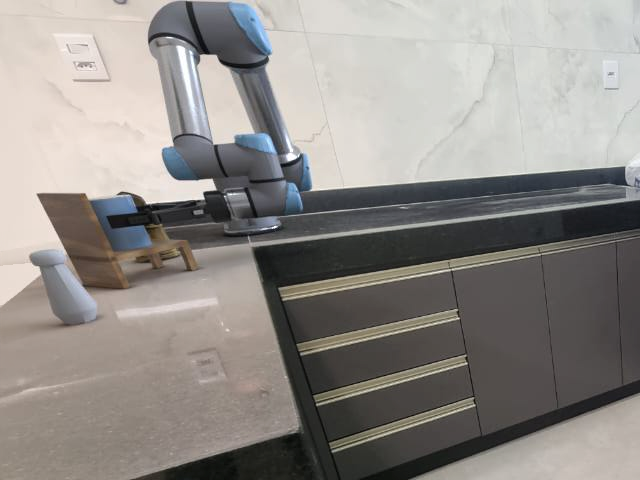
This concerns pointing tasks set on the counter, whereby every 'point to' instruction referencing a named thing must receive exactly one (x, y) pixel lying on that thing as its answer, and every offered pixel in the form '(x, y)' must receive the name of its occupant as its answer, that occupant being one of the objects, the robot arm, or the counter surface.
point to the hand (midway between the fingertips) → (112, 218)
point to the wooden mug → (152, 232)
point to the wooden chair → (99, 242)
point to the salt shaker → (64, 288)
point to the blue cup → (120, 236)
